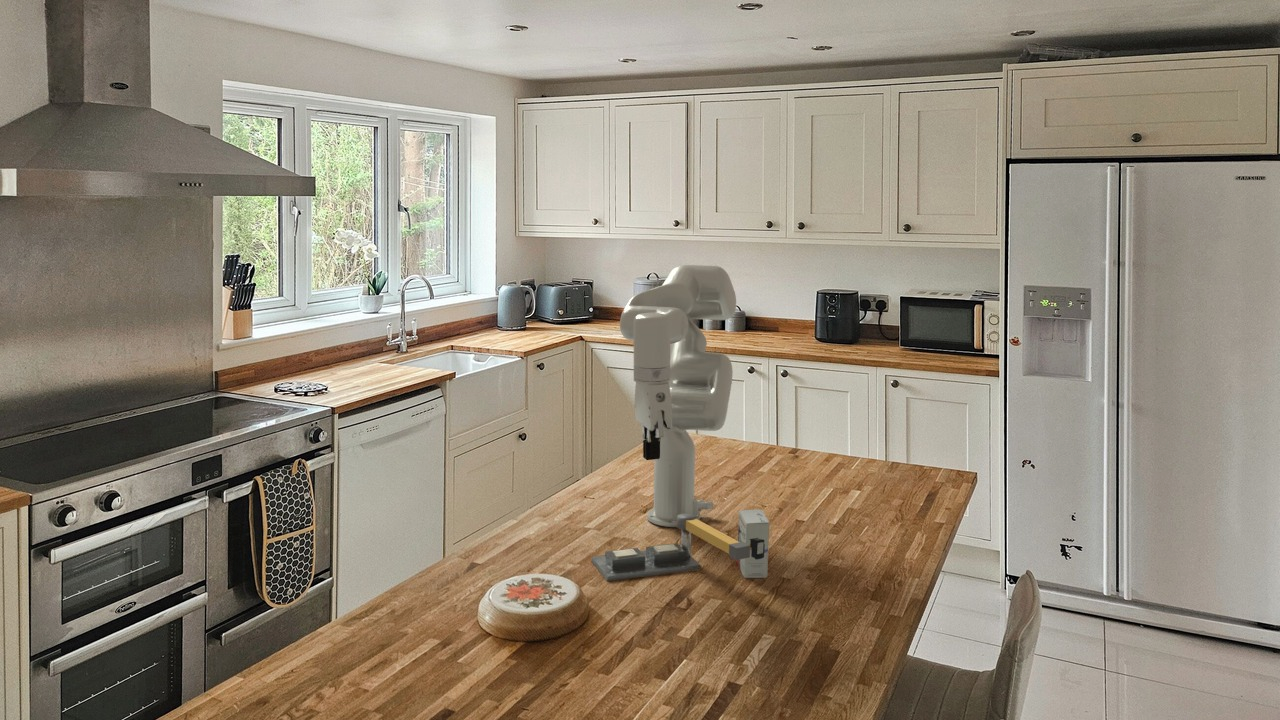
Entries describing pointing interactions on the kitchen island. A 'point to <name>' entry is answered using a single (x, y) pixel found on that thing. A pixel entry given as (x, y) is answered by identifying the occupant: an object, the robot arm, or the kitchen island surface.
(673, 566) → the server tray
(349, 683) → the kitchen island surface
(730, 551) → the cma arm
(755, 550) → the ink box
